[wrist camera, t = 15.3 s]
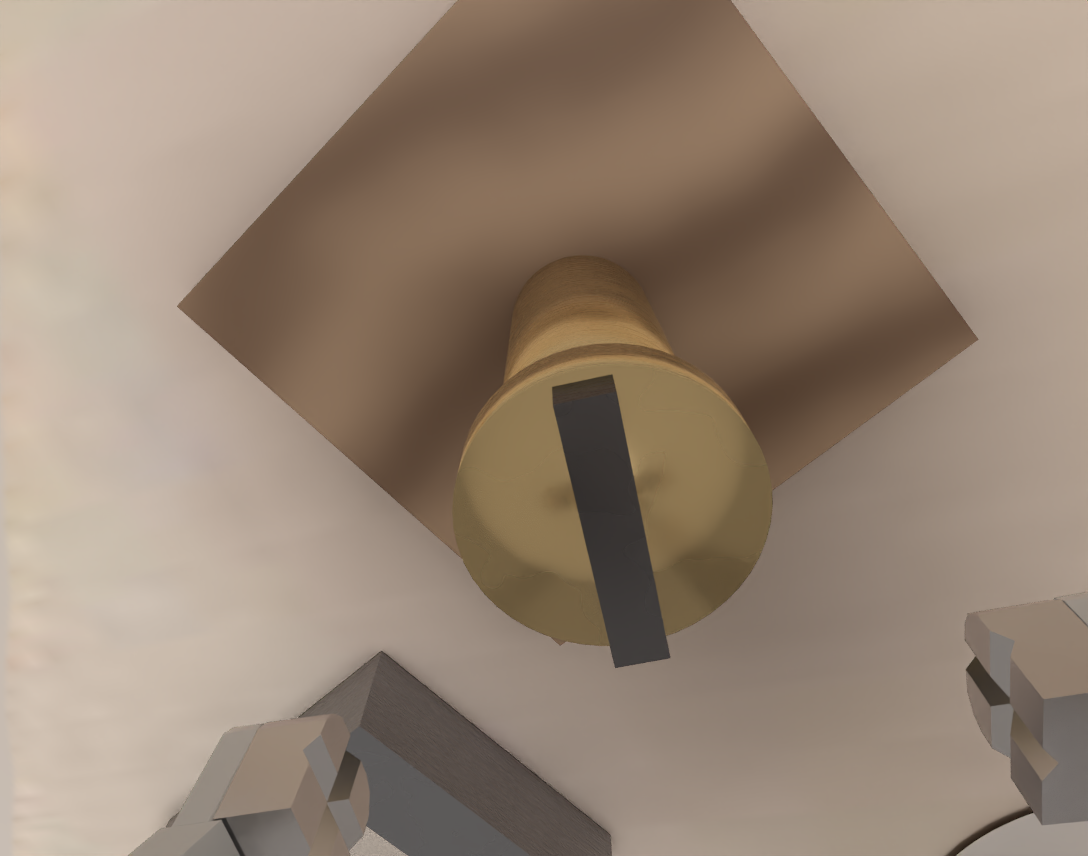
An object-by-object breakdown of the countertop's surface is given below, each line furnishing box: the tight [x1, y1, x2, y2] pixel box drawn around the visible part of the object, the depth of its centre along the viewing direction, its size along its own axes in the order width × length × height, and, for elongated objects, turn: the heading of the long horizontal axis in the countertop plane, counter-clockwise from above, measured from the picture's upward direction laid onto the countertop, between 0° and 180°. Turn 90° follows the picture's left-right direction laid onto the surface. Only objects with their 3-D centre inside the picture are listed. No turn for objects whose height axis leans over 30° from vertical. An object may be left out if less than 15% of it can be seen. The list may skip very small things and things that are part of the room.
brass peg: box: [452, 255, 773, 668], centre depth 19 cm, size 6×6×13 cm
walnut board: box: [177, 0, 978, 645], centre depth 26 cm, size 18×18×1 cm
